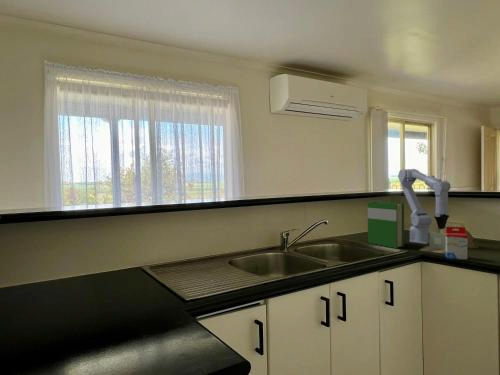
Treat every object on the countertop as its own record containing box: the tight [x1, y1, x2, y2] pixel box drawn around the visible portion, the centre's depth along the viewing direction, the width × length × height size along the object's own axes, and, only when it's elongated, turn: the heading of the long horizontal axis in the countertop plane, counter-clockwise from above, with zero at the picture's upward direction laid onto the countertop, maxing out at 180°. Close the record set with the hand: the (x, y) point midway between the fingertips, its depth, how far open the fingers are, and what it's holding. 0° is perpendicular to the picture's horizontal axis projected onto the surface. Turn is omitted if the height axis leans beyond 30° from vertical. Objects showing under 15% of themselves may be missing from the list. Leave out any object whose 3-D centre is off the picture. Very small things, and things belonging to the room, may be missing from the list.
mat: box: [418, 245, 446, 254], centre depth 185 cm, size 13×12×1 cm
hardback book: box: [367, 201, 405, 249], centre depth 198 cm, size 18×7×24 cm, turn 37°
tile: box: [428, 231, 446, 250], centre depth 187 cm, size 8×2×8 cm, turn 46°
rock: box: [465, 229, 479, 249], centre depth 189 cm, size 11×9×10 cm
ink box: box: [445, 226, 468, 260], centre depth 167 cm, size 8×5×15 cm, turn 68°
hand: (441, 228), depth 191 cm, fingers open, 2 cm apart
